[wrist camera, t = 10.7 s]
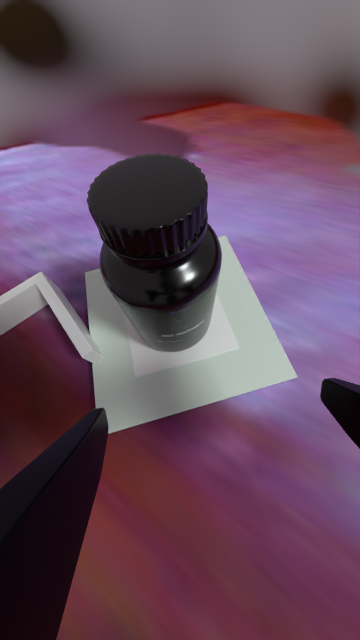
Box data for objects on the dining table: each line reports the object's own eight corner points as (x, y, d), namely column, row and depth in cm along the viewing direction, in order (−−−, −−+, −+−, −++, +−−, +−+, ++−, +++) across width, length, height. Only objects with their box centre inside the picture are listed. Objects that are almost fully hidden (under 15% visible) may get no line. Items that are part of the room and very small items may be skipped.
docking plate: (292, 379, 17) (298, 377, 16) (103, 435, 16) (97, 436, 15) (224, 242, 23) (225, 234, 22) (89, 277, 23) (84, 271, 22)
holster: (108, 358, 19) (93, 349, 16) (-12, 452, 16) (-55, 460, 13) (59, 288, 22) (40, 271, 20) (-44, 355, 20) (-82, 346, 17)
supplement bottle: (184, 369, 17) (162, 290, 6) (122, 328, 19) (18, 211, 8) (225, 307, 19) (265, 162, 8) (165, 276, 21) (132, 125, 10)
